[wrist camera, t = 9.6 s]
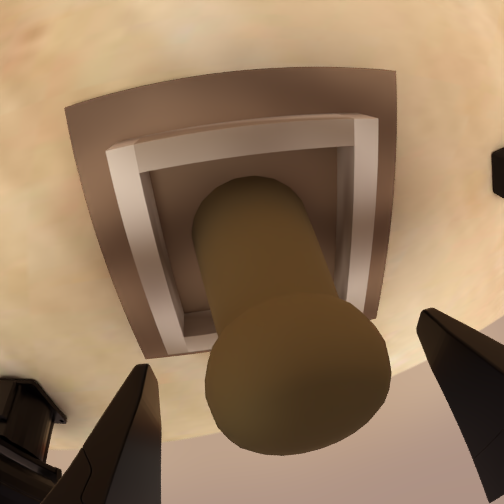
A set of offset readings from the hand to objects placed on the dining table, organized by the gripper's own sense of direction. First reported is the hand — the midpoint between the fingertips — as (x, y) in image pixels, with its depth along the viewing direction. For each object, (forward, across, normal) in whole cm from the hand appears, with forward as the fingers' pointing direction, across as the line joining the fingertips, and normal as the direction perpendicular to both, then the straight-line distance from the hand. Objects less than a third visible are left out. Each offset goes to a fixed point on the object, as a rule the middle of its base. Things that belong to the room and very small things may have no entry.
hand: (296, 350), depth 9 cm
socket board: (+9, 0, 0) cm, 9 cm away
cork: (+8, 0, 0) cm, 8 cm away
